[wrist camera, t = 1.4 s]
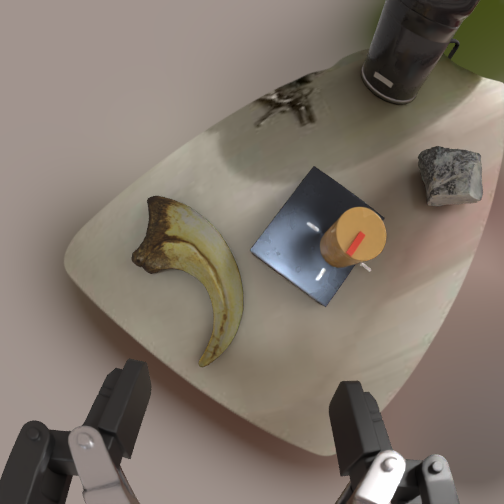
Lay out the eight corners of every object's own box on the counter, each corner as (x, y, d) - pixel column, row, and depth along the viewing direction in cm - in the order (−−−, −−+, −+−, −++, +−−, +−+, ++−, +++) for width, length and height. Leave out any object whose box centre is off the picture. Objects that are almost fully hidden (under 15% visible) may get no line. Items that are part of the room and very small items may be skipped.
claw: (123, 230, 34) (110, 225, 31) (186, 183, 34) (178, 173, 31) (205, 364, 32) (199, 372, 28) (278, 318, 32) (279, 322, 29)
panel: (311, 174, 33) (313, 165, 31) (388, 231, 32) (397, 227, 29) (251, 253, 33) (249, 250, 30) (333, 314, 31) (339, 316, 28)
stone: (480, 128, 22) (465, 188, 21) (492, 185, 28) (475, 243, 27) (417, 125, 30) (392, 177, 29) (438, 175, 36) (416, 226, 35)
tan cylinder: (334, 218, 30) (355, 195, 22) (366, 243, 29) (396, 227, 21) (311, 251, 30) (326, 238, 21) (344, 275, 29) (370, 271, 21)
